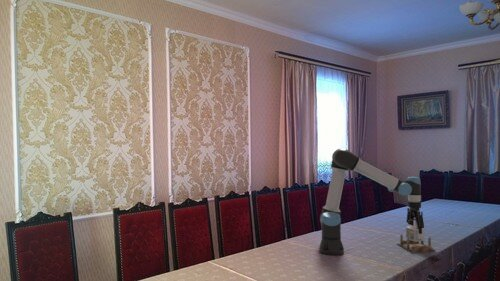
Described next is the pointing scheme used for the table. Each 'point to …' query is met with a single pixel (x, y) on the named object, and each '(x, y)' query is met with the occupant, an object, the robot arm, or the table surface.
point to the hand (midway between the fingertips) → (415, 236)
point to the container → (414, 231)
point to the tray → (415, 245)
